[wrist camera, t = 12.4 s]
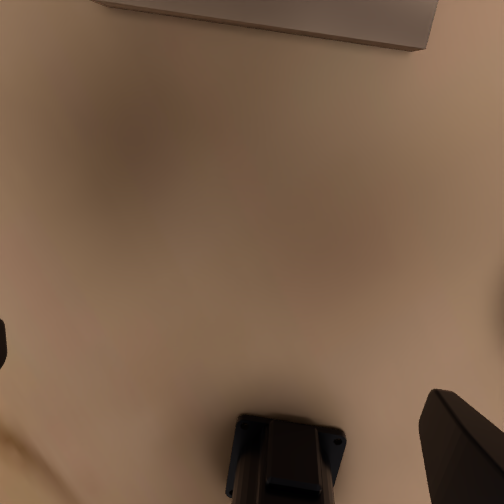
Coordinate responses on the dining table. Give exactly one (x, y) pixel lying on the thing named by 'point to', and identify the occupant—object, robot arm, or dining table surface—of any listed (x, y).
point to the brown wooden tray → (310, 17)
